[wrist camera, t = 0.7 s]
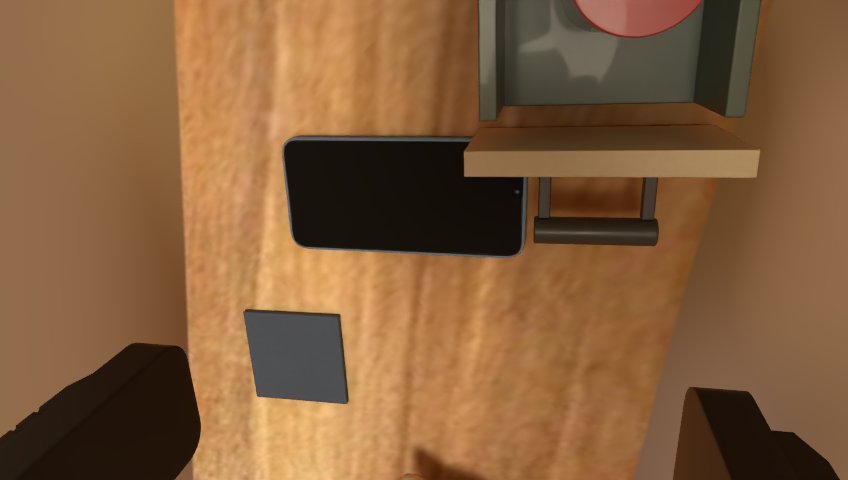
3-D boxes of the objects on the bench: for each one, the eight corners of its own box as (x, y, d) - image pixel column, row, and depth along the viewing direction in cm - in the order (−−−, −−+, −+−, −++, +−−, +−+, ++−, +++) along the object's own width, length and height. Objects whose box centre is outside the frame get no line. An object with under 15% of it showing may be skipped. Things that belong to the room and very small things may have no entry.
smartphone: (278, 137, 35) (528, 138, 32) (284, 135, 36) (528, 135, 33) (290, 251, 38) (524, 261, 35) (296, 246, 38) (525, 256, 35)
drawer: (703, 223, 32) (742, 270, 26) (480, 219, 34) (465, 261, 28) (747, -124, 26) (809, -172, 20) (476, -100, 29) (457, -136, 23)
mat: (245, 309, 41) (243, 311, 41) (339, 314, 40) (337, 316, 39) (259, 393, 43) (256, 396, 43) (348, 401, 42) (346, 404, 42)
